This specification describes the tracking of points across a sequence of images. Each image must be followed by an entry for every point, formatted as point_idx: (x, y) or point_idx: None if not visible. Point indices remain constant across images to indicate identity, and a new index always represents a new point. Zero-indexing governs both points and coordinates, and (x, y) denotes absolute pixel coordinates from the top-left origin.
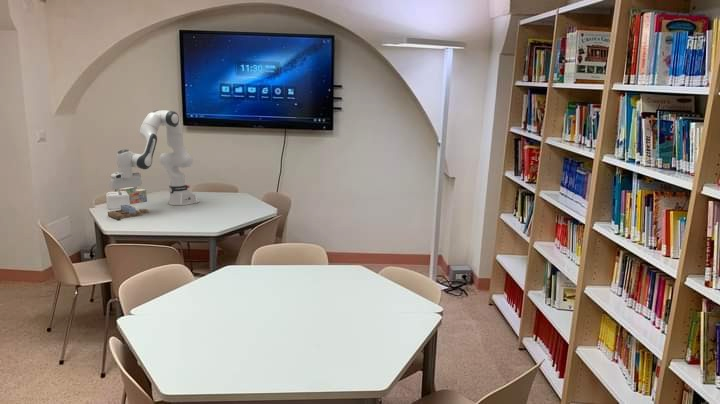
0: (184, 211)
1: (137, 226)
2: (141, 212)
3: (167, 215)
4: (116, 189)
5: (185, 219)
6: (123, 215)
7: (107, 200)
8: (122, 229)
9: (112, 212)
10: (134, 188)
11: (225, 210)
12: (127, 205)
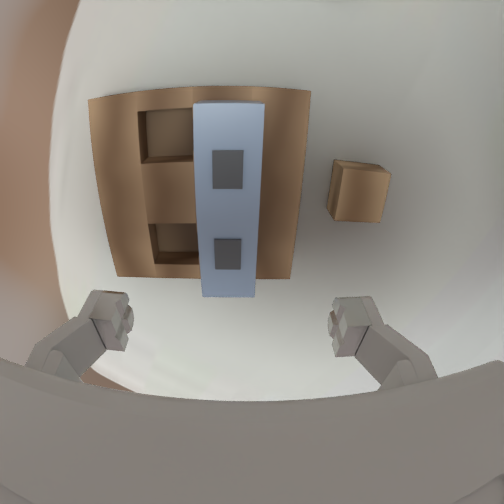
0: (467, 289)
1: (183, 381)
2: (332, 195)
3: (385, 313)
4: (34, 361)
5: (367, 383)
6: (157, 275)
7: None
8: (126, 378)
9: (109, 151)
10: (391, 353)
11: (497, 338)
12: (237, 183)
